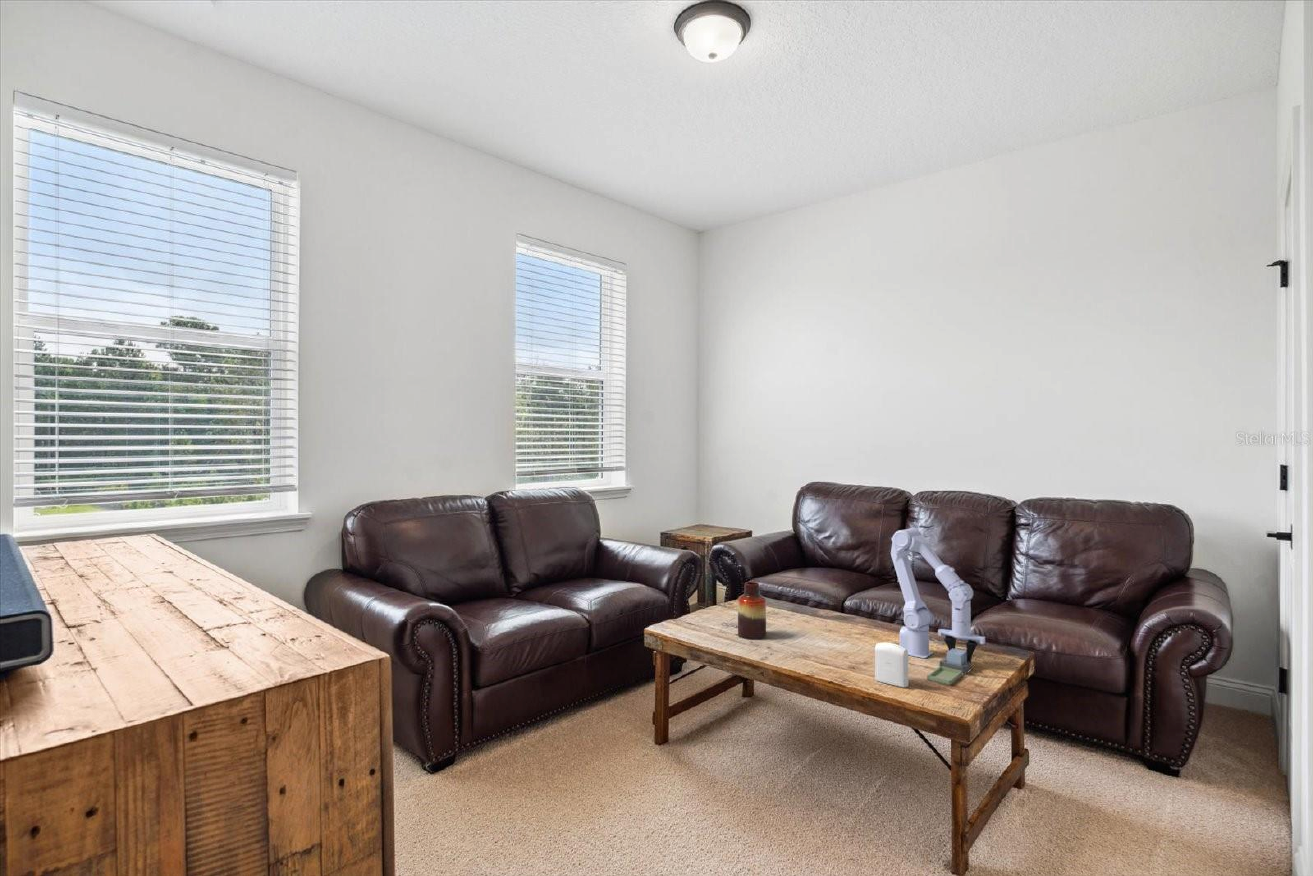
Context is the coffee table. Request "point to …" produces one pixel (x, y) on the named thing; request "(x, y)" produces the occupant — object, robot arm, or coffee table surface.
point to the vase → (751, 613)
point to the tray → (944, 675)
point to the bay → (956, 666)
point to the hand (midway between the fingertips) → (961, 660)
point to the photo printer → (891, 664)
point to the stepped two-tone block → (957, 656)
